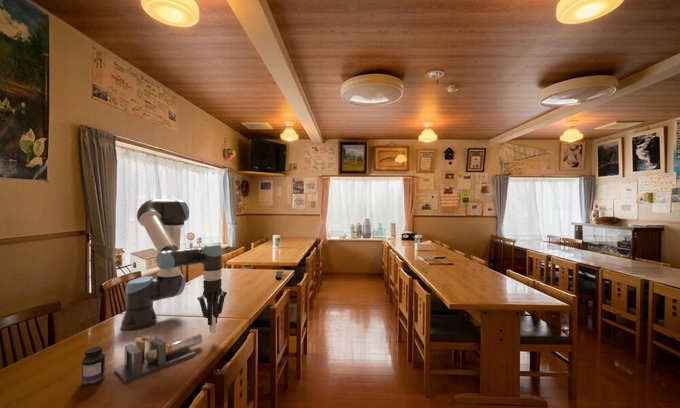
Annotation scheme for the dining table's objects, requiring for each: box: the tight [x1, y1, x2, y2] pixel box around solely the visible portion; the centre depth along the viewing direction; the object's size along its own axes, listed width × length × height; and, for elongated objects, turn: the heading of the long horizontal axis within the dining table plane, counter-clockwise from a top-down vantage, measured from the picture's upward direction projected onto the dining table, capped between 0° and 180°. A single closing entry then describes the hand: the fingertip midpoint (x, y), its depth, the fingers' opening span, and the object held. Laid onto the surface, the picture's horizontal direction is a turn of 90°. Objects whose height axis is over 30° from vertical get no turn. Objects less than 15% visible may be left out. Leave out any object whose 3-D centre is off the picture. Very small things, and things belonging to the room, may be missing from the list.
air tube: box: [145, 333, 203, 363], centre depth 119 cm, size 20×4×4 cm, turn 143°
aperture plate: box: [134, 335, 151, 360], centre depth 112 cm, size 7×3×9 cm, turn 53°
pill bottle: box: [81, 345, 106, 386], centre depth 102 cm, size 6×6×11 cm
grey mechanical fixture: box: [113, 335, 196, 385], centre depth 114 cm, size 12×24×9 cm, turn 143°
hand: (212, 331), depth 131 cm, fingers closed
